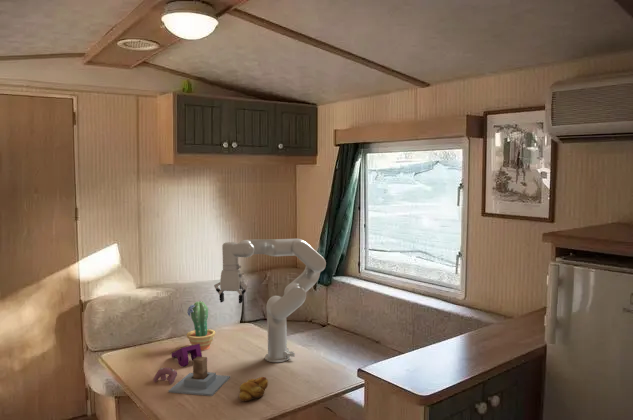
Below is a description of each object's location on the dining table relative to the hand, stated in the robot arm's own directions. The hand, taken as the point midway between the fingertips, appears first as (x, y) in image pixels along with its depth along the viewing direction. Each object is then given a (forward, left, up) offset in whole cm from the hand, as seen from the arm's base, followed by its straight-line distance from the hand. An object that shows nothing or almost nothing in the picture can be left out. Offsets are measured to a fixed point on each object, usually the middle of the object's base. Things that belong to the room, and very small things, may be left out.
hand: (231, 302), depth 250 cm
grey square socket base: (+4, +28, -30) cm, 41 cm away
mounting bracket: (+25, +2, -31) cm, 39 cm away
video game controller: (+21, +27, -31) cm, 46 cm away
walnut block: (+4, +28, -30) cm, 41 cm away
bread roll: (-22, +36, -31) cm, 52 cm away
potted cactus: (+25, -18, -31) cm, 43 cm away
